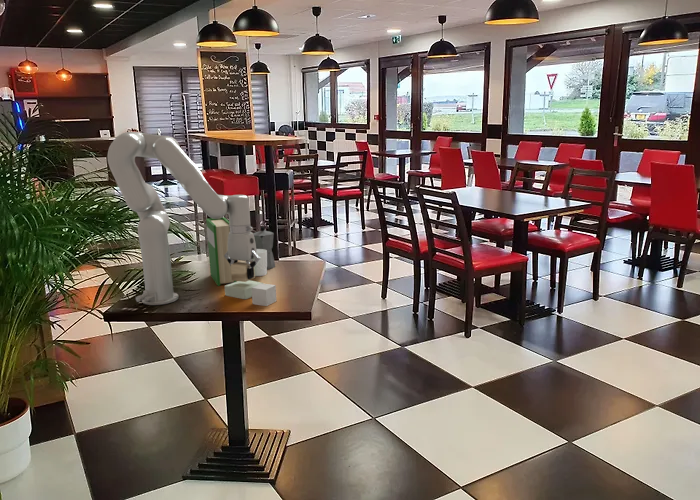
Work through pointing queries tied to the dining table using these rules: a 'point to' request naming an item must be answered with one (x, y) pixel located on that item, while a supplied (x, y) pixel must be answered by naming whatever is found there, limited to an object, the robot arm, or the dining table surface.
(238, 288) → the base block
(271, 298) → the grey cube
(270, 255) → the coffeepot
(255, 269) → the white cup
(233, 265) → the maple cube
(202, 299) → the dining table surface
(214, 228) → the hardback book
